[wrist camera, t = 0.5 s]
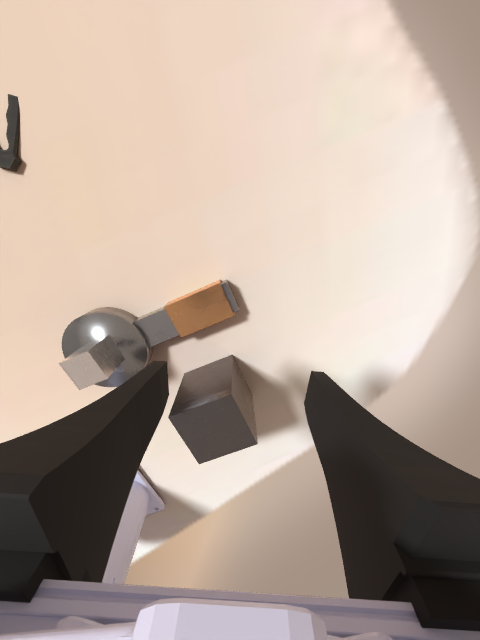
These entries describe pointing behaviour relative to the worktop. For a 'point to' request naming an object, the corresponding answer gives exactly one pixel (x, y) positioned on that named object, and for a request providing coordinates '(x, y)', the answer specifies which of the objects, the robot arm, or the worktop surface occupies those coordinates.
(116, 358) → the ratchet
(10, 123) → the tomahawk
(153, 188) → the worktop surface
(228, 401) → the dark grey block
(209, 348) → the worktop surface
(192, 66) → the worktop surface
